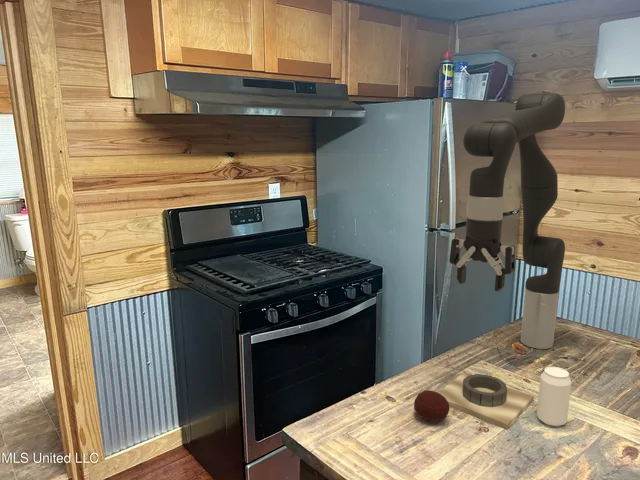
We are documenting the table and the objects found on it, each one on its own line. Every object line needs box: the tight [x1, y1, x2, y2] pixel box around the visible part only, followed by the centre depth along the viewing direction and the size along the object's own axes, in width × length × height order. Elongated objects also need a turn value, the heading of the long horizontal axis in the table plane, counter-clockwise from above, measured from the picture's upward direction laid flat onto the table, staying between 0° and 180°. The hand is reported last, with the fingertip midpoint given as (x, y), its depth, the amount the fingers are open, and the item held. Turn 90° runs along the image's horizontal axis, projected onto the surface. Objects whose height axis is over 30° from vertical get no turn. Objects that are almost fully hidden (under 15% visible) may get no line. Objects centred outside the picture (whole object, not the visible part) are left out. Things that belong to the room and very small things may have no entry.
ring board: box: [437, 371, 535, 430], centre depth 119 cm, size 16×18×4 cm
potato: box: [413, 389, 450, 421], centre depth 112 cm, size 7×8×6 cm
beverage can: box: [536, 366, 572, 427], centre depth 110 cm, size 6×6×12 cm
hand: (479, 286), depth 112 cm, fingers open, 8 cm apart
